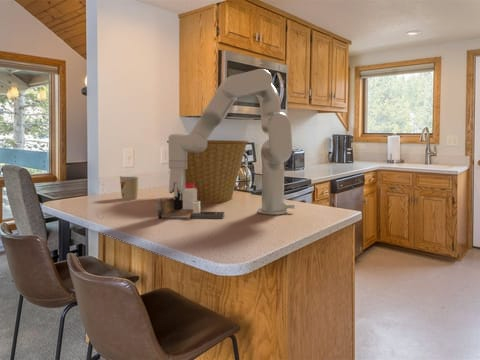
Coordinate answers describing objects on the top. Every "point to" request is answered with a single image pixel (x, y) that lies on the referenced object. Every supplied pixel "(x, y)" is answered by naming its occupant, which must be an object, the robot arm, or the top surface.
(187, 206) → the pill bottle
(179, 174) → the robot arm
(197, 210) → the fader cap
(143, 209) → the top surface
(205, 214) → the board
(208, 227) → the top surface
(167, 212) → the door
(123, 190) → the coffee cup
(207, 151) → the basket
